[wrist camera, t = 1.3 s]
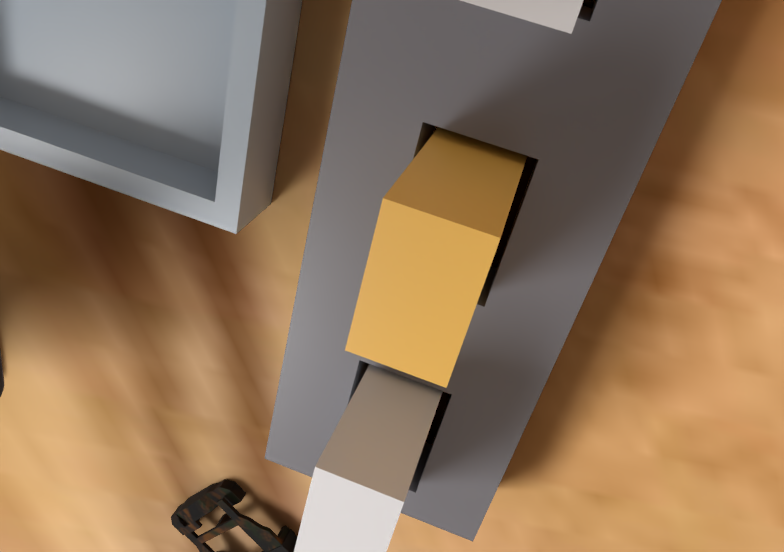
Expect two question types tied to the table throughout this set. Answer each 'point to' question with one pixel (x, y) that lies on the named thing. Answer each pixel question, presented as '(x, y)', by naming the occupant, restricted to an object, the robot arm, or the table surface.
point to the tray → (152, 97)
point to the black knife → (227, 519)
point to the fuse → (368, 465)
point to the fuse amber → (433, 254)
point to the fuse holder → (529, 230)
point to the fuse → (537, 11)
